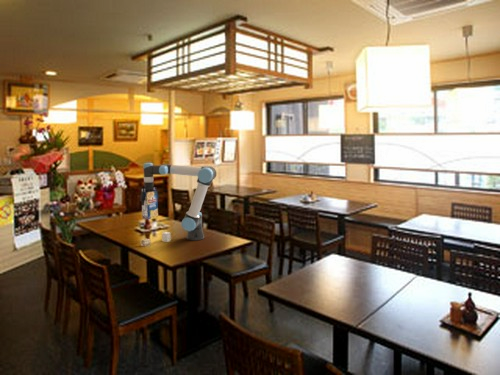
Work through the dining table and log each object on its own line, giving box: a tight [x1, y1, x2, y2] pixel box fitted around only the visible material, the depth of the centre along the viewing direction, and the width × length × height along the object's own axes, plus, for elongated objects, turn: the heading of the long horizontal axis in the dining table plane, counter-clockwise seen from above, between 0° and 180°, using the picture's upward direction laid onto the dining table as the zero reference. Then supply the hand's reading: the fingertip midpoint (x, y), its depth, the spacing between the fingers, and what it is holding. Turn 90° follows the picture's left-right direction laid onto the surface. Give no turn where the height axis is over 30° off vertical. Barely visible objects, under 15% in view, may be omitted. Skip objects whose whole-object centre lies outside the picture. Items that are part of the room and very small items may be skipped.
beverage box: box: [141, 190, 159, 220], centre depth 303 cm, size 7×11×22 cm, turn 146°
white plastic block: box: [161, 231, 172, 243], centre depth 307 cm, size 5×5×7 cm
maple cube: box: [140, 238, 151, 248], centre depth 293 cm, size 5×5×5 cm
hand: (149, 208), depth 303 cm, fingers closed on beverage box, 11 cm apart
